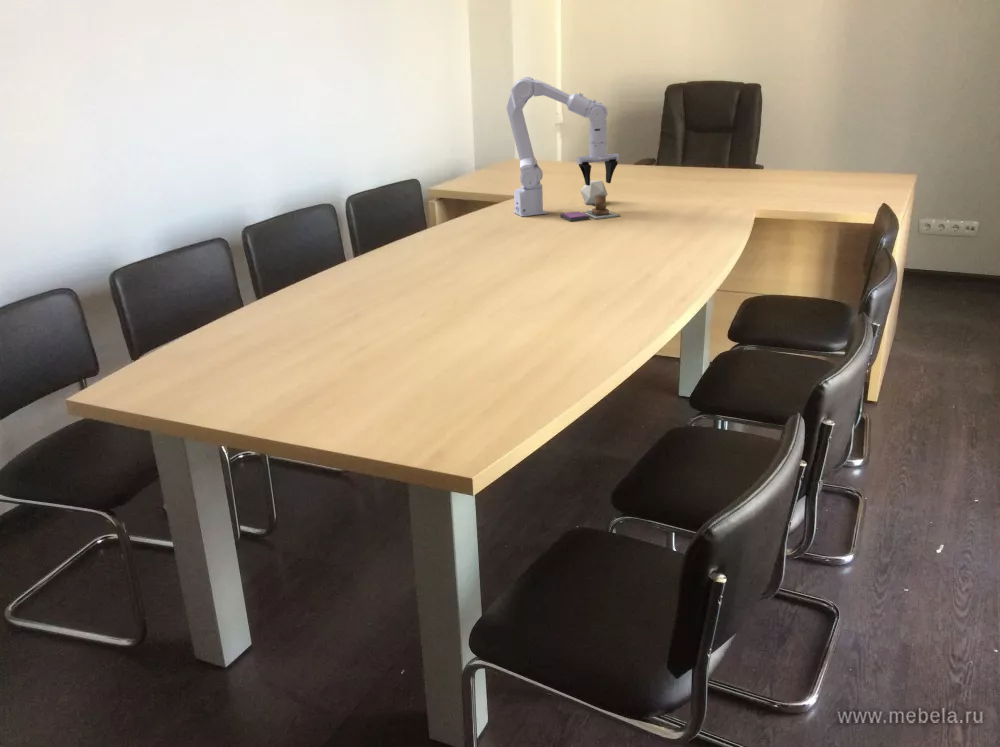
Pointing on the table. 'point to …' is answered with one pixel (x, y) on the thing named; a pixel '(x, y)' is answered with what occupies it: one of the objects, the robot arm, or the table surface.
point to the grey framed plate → (589, 213)
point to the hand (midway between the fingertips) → (598, 183)
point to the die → (593, 191)
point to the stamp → (600, 206)
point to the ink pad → (574, 216)
